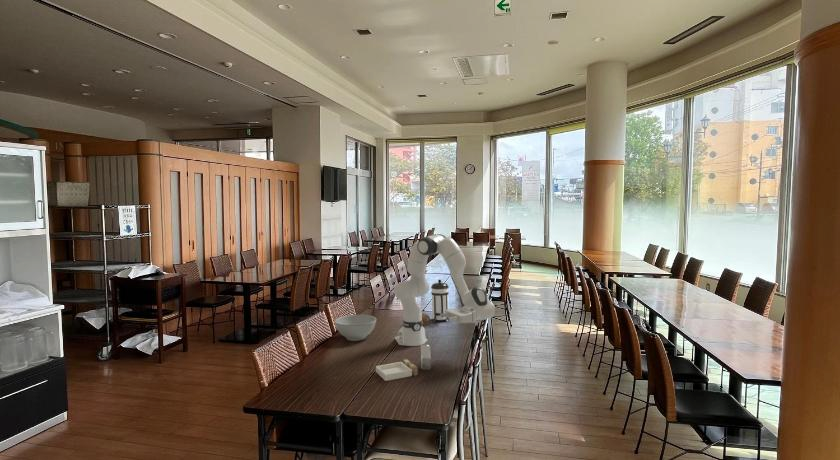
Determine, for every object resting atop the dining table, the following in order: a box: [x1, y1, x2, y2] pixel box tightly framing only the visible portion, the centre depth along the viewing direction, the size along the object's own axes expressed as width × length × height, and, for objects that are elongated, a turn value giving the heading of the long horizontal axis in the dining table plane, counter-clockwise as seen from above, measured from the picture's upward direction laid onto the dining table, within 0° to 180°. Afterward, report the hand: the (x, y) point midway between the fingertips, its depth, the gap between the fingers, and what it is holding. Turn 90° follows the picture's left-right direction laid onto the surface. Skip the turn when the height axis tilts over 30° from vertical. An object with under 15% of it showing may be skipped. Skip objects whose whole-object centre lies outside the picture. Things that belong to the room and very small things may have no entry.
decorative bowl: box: [334, 314, 377, 342], centre depth 298 cm, size 27×27×12 cm
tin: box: [422, 313, 431, 327], centre depth 324 cm, size 15×3×8 cm, turn 105°
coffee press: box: [430, 279, 450, 323], centre depth 336 cm, size 17×16×30 cm
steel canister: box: [420, 343, 432, 371], centre depth 240 cm, size 5×5×12 cm
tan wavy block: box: [402, 358, 419, 376], centre depth 236 cm, size 14×2×4 cm, turn 25°
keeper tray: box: [375, 361, 413, 382], centre depth 233 cm, size 14×14×3 cm
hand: (444, 317), depth 244 cm, fingers open, 8 cm apart
